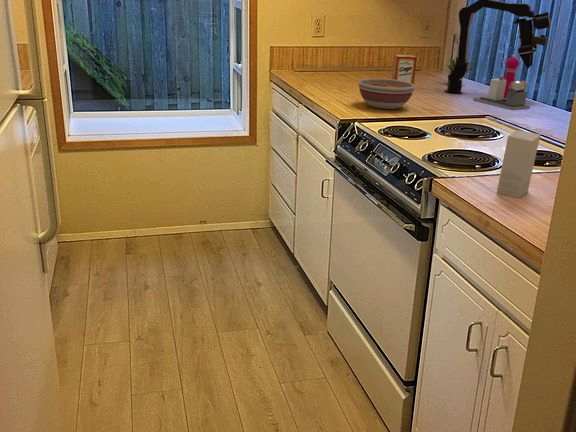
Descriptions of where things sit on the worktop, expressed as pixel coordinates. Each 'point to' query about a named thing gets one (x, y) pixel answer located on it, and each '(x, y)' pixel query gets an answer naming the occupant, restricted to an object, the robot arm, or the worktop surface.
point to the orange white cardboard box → (404, 68)
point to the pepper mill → (510, 72)
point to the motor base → (510, 97)
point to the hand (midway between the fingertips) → (529, 67)
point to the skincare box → (518, 163)
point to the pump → (497, 88)
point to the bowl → (385, 92)
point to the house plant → (451, 64)
